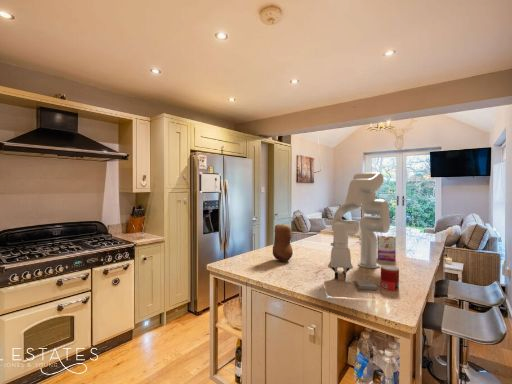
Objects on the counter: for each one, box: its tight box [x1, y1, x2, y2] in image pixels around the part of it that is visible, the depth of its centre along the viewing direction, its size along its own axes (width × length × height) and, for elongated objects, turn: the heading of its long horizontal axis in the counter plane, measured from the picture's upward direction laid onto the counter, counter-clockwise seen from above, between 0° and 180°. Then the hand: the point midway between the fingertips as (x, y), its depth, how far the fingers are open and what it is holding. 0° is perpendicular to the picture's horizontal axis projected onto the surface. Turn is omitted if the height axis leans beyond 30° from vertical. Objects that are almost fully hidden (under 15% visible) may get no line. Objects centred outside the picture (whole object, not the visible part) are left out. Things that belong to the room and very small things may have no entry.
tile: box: [355, 278, 378, 290], centre depth 133 cm, size 2×8×9 cm
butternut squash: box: [272, 223, 294, 263], centre depth 181 cm, size 14×13×25 cm
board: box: [351, 280, 383, 294], centre depth 132 cm, size 15×11×1 cm
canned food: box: [380, 264, 400, 292], centre depth 131 cm, size 8×8×11 cm
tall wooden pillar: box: [337, 269, 345, 282], centre depth 147 cm, size 14×6×4 cm, turn 171°
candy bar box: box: [376, 234, 397, 262], centre depth 186 cm, size 11×5×16 cm, turn 73°
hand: (340, 279), depth 144 cm, fingers closed on tall wooden pillar, 2 cm apart
